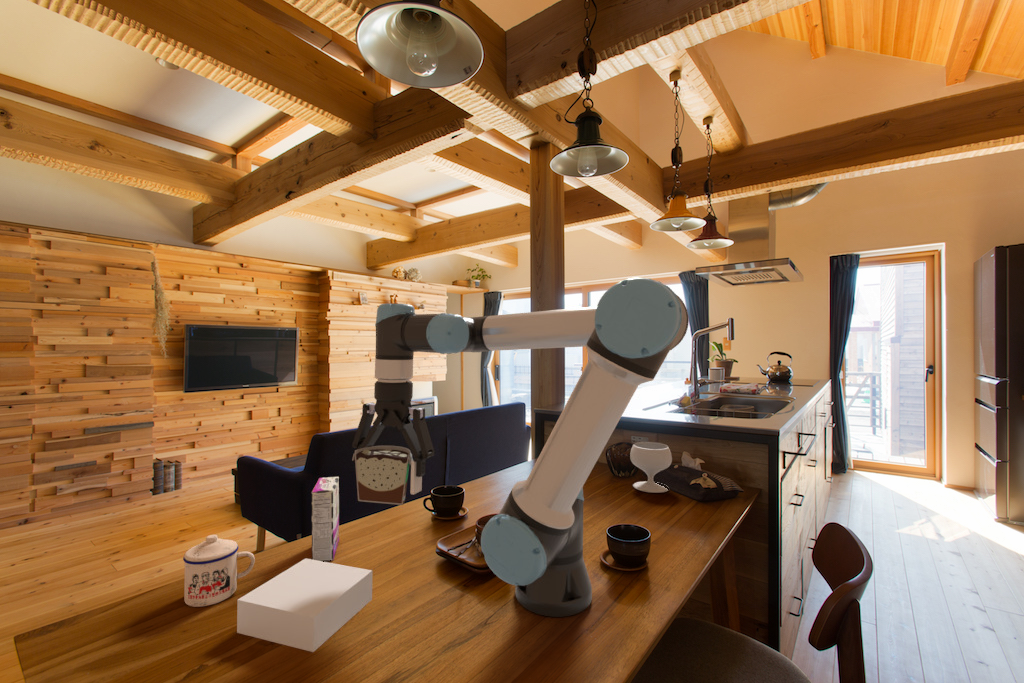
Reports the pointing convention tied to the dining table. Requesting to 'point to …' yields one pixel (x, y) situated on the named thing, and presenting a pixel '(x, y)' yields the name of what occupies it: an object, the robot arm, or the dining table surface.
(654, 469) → the chalice
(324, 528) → the candy bar box
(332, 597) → the white block
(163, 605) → the dining table surface
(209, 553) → the teacup with lid
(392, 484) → the food container
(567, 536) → the robot arm
